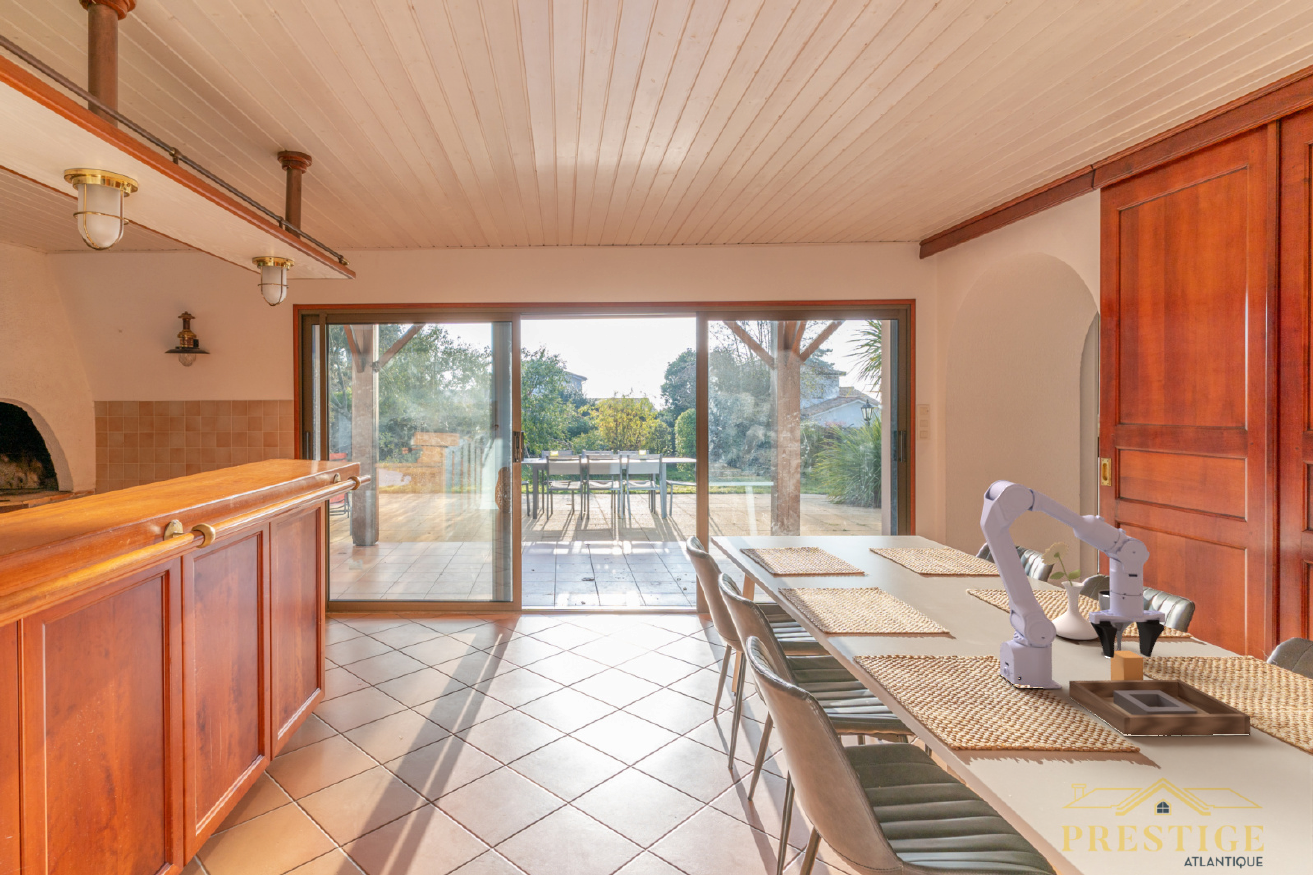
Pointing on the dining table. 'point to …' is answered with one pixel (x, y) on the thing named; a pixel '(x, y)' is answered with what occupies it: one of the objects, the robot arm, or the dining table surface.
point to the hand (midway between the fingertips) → (1127, 655)
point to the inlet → (1150, 703)
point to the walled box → (1206, 722)
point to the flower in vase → (1069, 598)
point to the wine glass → (1121, 626)
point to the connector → (1126, 666)
